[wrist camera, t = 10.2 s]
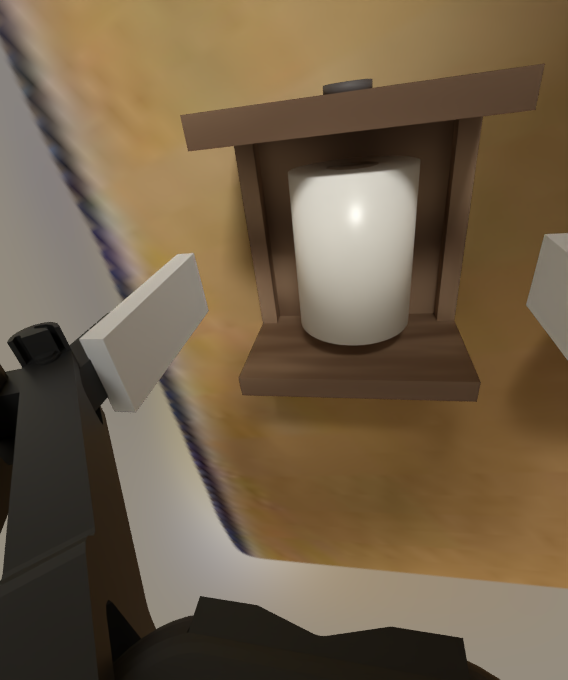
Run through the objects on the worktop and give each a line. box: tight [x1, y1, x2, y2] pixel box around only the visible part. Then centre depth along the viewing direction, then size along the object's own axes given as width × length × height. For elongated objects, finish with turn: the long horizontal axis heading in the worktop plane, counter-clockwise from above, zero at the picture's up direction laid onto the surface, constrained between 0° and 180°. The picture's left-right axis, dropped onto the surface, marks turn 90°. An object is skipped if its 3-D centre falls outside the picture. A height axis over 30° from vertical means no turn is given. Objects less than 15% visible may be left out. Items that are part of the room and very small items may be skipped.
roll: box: [288, 156, 420, 345], centre depth 19 cm, size 8×6×6 cm
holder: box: [180, 64, 545, 402], centre depth 19 cm, size 14×12×8 cm
